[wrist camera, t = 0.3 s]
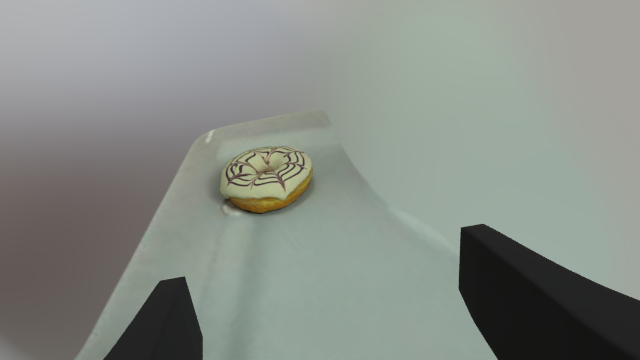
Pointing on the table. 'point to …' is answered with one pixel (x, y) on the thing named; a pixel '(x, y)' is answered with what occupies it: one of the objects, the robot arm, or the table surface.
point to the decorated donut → (266, 178)
